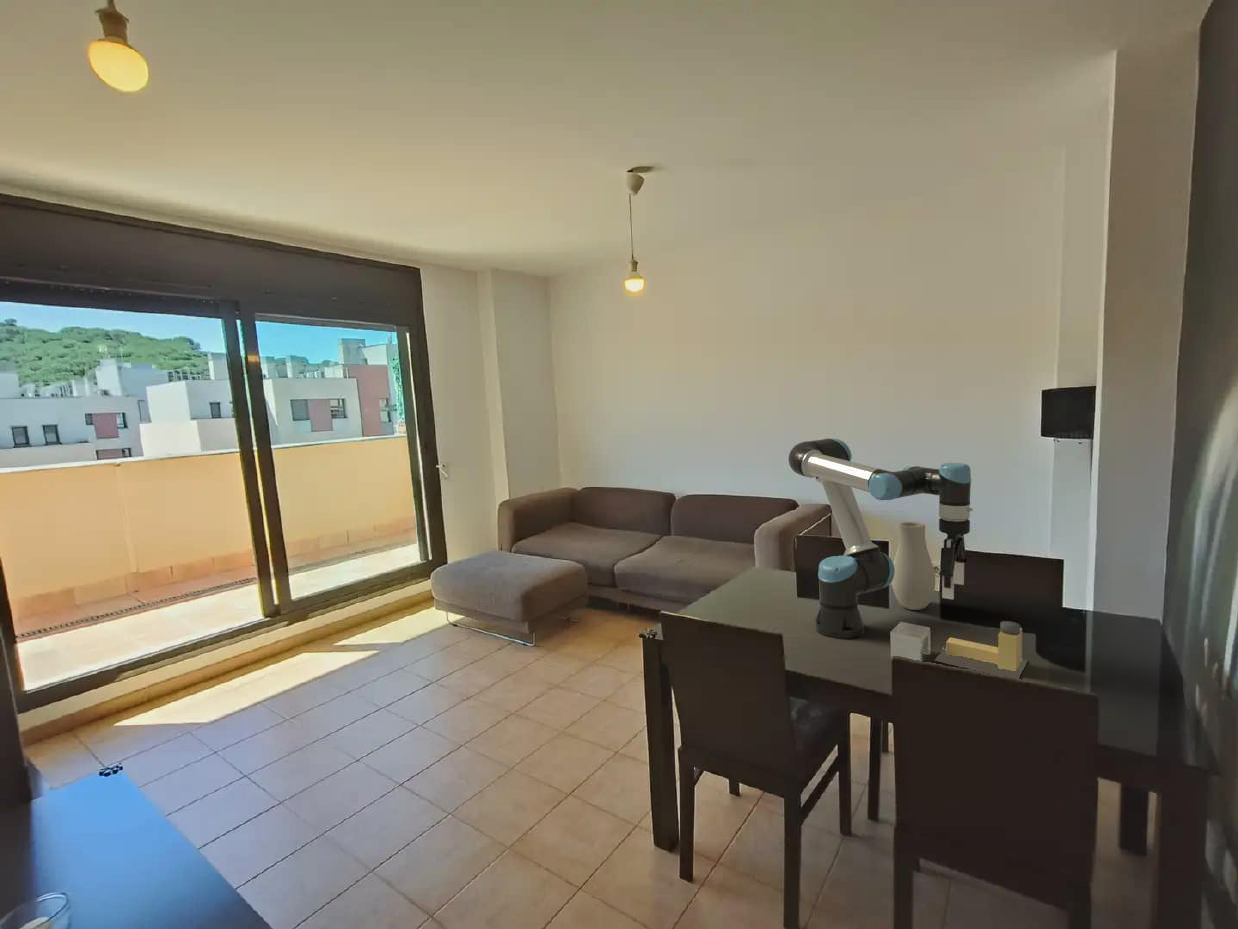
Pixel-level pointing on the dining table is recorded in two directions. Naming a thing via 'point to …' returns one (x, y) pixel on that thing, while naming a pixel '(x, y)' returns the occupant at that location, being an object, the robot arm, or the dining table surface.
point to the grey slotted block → (910, 641)
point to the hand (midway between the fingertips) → (953, 591)
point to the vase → (913, 568)
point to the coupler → (993, 648)
